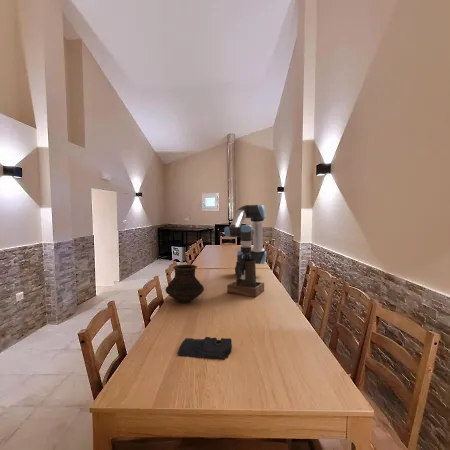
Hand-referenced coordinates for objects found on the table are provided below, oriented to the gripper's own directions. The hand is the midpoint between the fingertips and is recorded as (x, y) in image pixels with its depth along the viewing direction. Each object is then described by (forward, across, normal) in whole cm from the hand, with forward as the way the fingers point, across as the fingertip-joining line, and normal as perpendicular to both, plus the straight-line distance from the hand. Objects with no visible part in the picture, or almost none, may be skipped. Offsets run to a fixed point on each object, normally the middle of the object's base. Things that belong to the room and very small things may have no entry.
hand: (245, 277), depth 204 cm
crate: (+10, 0, 0) cm, 10 cm away
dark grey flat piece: (+11, +86, +18) cm, 89 cm away
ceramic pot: (+11, +36, -28) cm, 47 cm away
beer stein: (+7, +1, 0) cm, 7 cm away
